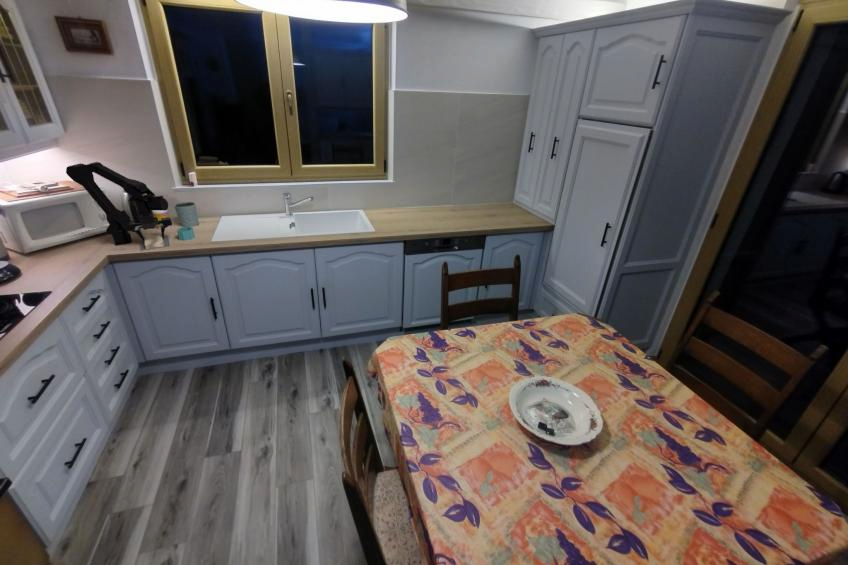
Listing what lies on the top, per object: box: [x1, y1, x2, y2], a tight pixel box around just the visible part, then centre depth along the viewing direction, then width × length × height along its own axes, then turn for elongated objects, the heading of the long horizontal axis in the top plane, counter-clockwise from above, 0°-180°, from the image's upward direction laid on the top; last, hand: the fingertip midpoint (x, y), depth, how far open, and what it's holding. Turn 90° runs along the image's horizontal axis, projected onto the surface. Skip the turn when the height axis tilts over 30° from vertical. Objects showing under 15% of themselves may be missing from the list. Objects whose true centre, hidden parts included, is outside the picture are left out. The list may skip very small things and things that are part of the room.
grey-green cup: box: [173, 201, 200, 228], centre depth 212 cm, size 10×10×12 cm
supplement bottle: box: [152, 209, 172, 230], centre depth 208 cm, size 7×7×13 cm
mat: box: [139, 234, 171, 252], centre depth 190 cm, size 12×17×1 cm
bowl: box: [176, 227, 196, 241], centre depth 196 cm, size 7×7×5 cm
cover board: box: [144, 232, 164, 249], centre depth 190 cm, size 7×14×2 cm, turn 33°
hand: (154, 240), depth 190 cm, fingers closed on cover board, 7 cm apart
